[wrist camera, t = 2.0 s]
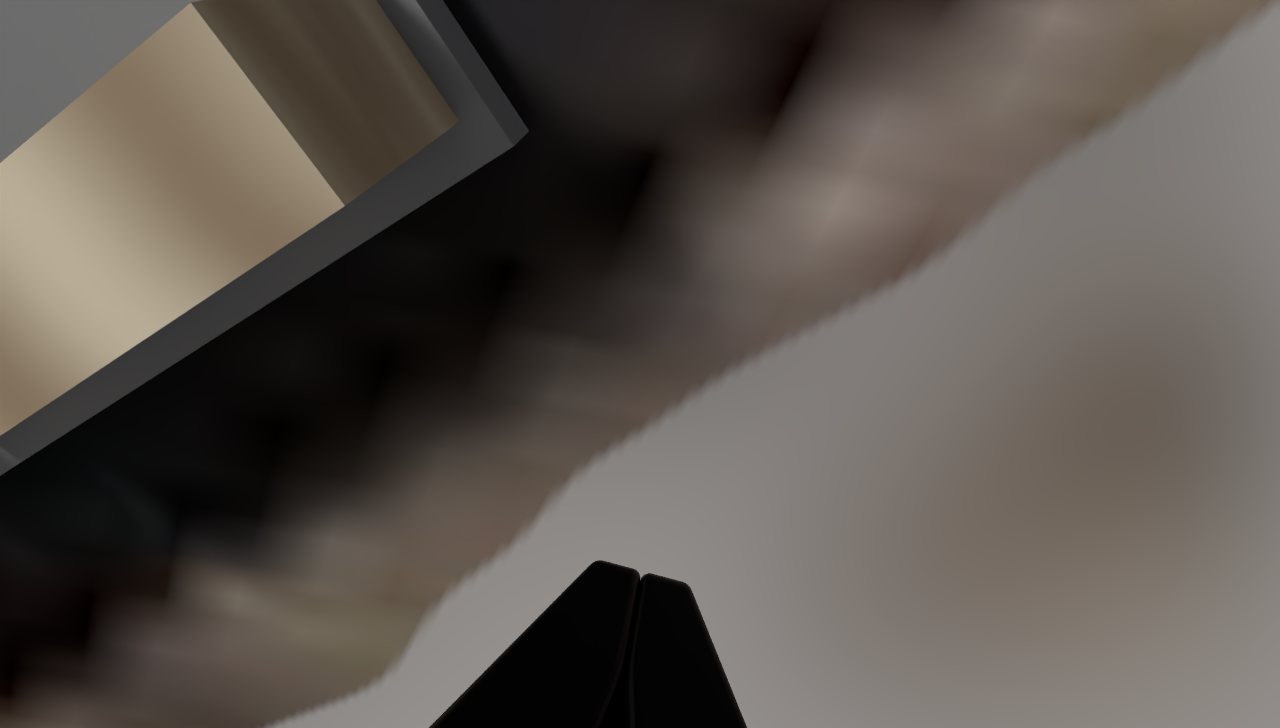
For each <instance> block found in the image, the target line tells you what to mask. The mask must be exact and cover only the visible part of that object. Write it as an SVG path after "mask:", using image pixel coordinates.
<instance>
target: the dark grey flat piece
mask: <svg viewBox="0 0 1280 728" xmlns="http://www.w3.org/2000/svg"><path fill="white" fill-rule="evenodd" d="M197 1H202V0H0V163H1V162H2V161H3V160H4V159H6V158H7V157H8V156H9V155H10V154H12V153H13V152H14V151H15V150H16V149H17V148H19V147H20V146H21V145H22V144H23V143H25V142H26V141H27V140H28V139H29V138H31V137H32V136H33V135H34V134H35V133H36V132H38V131H39V130H40V129H41V128H42V127H44V126H45V125H46V124H47V123H48V122H50V121H51V120H52V119H53V118H54V117H55V116H57V115H58V114H59V113H60V112H61V111H63V110H64V109H65V108H66V107H67V106H69V105H70V104H71V103H72V102H73V101H74V100H76V99H77V98H78V97H79V96H80V95H82V94H83V93H84V92H85V91H86V90H88V89H89V88H90V87H91V86H92V85H93V84H95V83H96V82H97V81H98V80H99V79H101V78H102V77H103V76H104V75H105V74H107V73H108V72H109V71H110V70H111V69H112V68H114V67H115V66H116V65H117V64H118V63H120V62H121V61H122V60H123V59H124V58H126V57H127V56H128V55H129V54H130V53H131V52H133V51H134V50H135V49H136V48H137V47H139V46H140V45H141V44H142V43H143V42H145V41H146V40H147V39H148V38H149V37H150V36H152V35H153V34H154V33H155V32H156V31H158V30H159V29H160V28H161V27H162V26H164V25H165V24H166V23H167V22H168V21H169V20H171V19H172V18H173V17H174V16H175V15H177V14H178V13H179V12H180V11H181V10H183V9H184V8H185V7H186V6H187V5H188V4H190V3H191V2H197ZM376 1H377V2H378V4H379V5H380V7H381V8H382V10H383V11H384V12H385V14H386V15H387V17H388V18H389V20H390V21H391V23H392V24H393V26H394V27H395V29H396V30H397V31H398V33H399V34H400V36H401V37H402V39H403V40H404V42H405V43H406V45H407V46H408V47H409V49H410V50H411V52H412V53H413V55H414V56H415V58H416V59H417V61H418V62H419V64H420V65H421V66H422V68H423V69H424V71H425V72H426V74H427V75H428V77H429V78H430V80H431V81H432V82H433V84H434V85H435V87H436V88H437V90H438V91H439V93H440V94H441V96H442V97H443V98H444V100H445V101H446V103H447V104H448V106H449V107H450V109H451V110H452V112H453V113H454V115H455V116H456V117H457V119H458V120H459V123H457V124H456V125H454V126H453V127H452V128H450V129H449V130H448V131H446V132H445V133H444V134H442V135H441V136H439V137H438V138H437V139H435V140H434V141H433V142H431V143H430V144H429V145H427V146H426V147H424V148H423V149H422V150H420V151H419V152H418V153H416V154H415V155H414V156H412V157H411V158H410V159H408V160H407V161H405V162H404V163H403V164H401V165H400V166H399V167H397V168H396V169H395V170H393V171H392V172H390V173H389V174H388V175H386V176H385V177H384V178H382V179H381V180H380V181H378V182H377V183H375V184H374V185H373V186H371V187H370V188H369V189H367V190H366V191H365V192H363V193H362V194H360V195H359V196H358V197H356V198H355V199H354V200H352V201H351V202H350V203H348V204H347V205H346V206H344V207H343V208H341V209H340V210H338V211H337V212H335V213H334V214H332V215H331V216H329V217H328V218H326V219H325V220H323V221H322V222H320V223H319V224H317V225H316V226H314V227H313V228H311V229H310V230H308V231H307V232H305V233H304V234H302V235H301V236H299V237H298V238H296V239H295V240H293V241H292V242H290V243H289V244H287V245H286V246H284V247H283V248H281V249H280V250H278V251H277V252H275V253H274V254H272V255H271V256H269V257H268V258H266V259H265V260H263V261H262V262H260V263H259V264H257V265H256V266H254V267H253V268H251V269H250V270H248V271H247V272H245V273H244V274H242V275H241V276H239V277H238V278H236V279H235V280H233V281H232V282H230V283H229V284H227V285H226V286H224V287H223V288H221V289H220V290H218V291H217V292H215V293H214V294H212V295H211V296H209V297H208V298H206V299H205V300H203V301H202V302H200V303H199V304H197V305H196V306H194V307H193V308H191V309H190V310H188V311H187V312H185V313H184V314H182V315H181V316H179V317H178V318H176V319H175V320H173V321H172V322H170V323H169V324H167V325H166V326H164V327H163V328H161V329H160V330H158V331H157V332H155V333H154V334H152V335H151V336H149V337H148V338H146V339H145V340H143V341H142V342H140V343H139V344H137V345H136V346H134V347H133V348H131V349H130V350H128V351H127V352H125V353H124V354H122V355H121V356H119V357H118V358H116V359H115V360H113V361H112V362H110V363H109V364H107V365H106V366H104V367H103V368H101V369H100V370H98V371H97V372H95V373H94V374H92V375H91V376H89V377H88V378H86V379H85V380H83V381H82V382H80V383H79V384H77V385H76V386H74V387H73V388H71V389H70V390H68V391H67V392H65V393H64V394H62V395H61V396H59V397H58V398H56V399H55V400H53V401H52V402H50V403H49V404H47V405H46V406H44V407H43V408H41V409H40V410H38V411H37V412H35V413H34V414H32V415H31V416H29V417H28V418H26V419H25V420H23V421H22V422H20V423H19V424H17V425H16V426H14V427H13V428H11V429H10V430H8V431H7V432H5V433H4V434H2V435H1V436H0V475H2V474H3V473H5V472H7V471H8V470H10V469H11V468H13V467H14V466H16V465H17V464H19V463H21V462H22V461H24V460H25V459H27V458H28V457H30V456H32V455H33V454H35V453H36V452H38V451H39V450H41V449H42V448H44V447H46V446H47V445H49V444H50V443H52V442H53V441H55V440H56V439H58V438H60V437H61V436H63V435H64V434H66V433H67V432H69V431H70V430H72V429H74V428H75V427H77V426H78V425H80V424H81V423H83V422H85V421H86V420H88V419H89V418H91V417H92V416H94V415H95V414H97V413H99V412H100V411H102V410H103V409H105V408H106V407H108V406H109V405H111V404H113V403H114V402H116V401H117V400H119V399H120V398H122V397H124V396H125V395H127V394H128V393H130V392H131V391H133V390H134V389H136V388H138V387H139V386H141V385H142V384H144V383H145V382H147V381H148V380H150V379H152V378H153V377H155V376H156V375H158V374H159V373H161V372H162V371H164V370H166V369H167V368H169V367H170V366H172V365H173V364H175V363H177V362H178V361H180V360H181V359H183V358H184V357H186V356H187V355H189V354H191V353H192V352H194V351H195V350H197V349H198V348H200V347H201V346H203V345H205V344H206V343H208V342H209V341H211V340H212V339H214V338H216V337H217V336H219V335H220V334H222V333H223V332H225V331H226V330H228V329H230V328H231V327H233V326H234V325H236V324H237V323H239V322H240V321H242V320H244V319H245V318H247V317H248V316H250V315H251V314H253V313H254V312H256V311H258V310H259V309H261V308H262V307H264V306H265V305H267V304H269V303H270V302H272V301H273V300H275V299H276V298H278V297H279V296H281V295H283V294H284V293H286V292H287V291H289V290H290V289H292V288H293V287H295V286H297V285H298V284H300V283H301V282H303V281H304V280H306V279H308V278H309V277H311V276H312V275H314V274H315V273H317V272H318V271H320V270H322V269H323V268H325V267H326V266H328V265H329V264H331V263H332V262H334V261H336V260H337V259H339V258H340V257H342V256H343V255H345V254H346V253H348V252H350V251H351V250H353V249H354V248H356V247H357V246H359V245H361V244H362V243H364V242H365V241H367V240H368V239H370V238H371V237H373V236H375V235H376V234H378V233H379V232H381V231H382V230H384V229H385V228H387V227H389V226H390V225H392V224H393V223H395V222H396V221H398V220H400V219H401V218H403V217H404V216H406V215H407V214H409V213H410V212H412V211H414V210H415V209H417V208H418V207H420V206H421V205H423V204H424V203H426V202H428V201H429V200H431V199H432V198H434V197H435V196H437V195H438V194H440V193H442V192H443V191H445V190H446V189H448V188H449V187H451V186H453V185H454V184H456V183H457V182H459V181H460V180H462V179H463V178H465V177H467V176H468V175H470V174H471V173H473V172H474V171H476V170H477V169H479V168H481V167H482V166H484V165H485V164H487V163H488V162H490V161H492V160H493V159H495V158H496V157H498V156H499V155H501V154H502V153H504V152H506V151H507V150H509V149H510V148H512V147H513V146H515V145H516V144H517V143H518V142H519V141H520V140H521V139H522V138H523V137H524V136H525V135H526V134H527V133H528V132H529V130H528V128H527V127H526V125H525V124H524V122H523V121H522V119H521V118H520V116H519V115H518V113H517V112H516V110H515V109H514V107H513V106H512V104H511V103H510V101H509V100H508V98H507V97H506V95H505V94H504V92H503V91H502V89H501V88H500V86H499V85H498V83H497V82H496V80H495V78H494V77H493V75H492V74H491V72H490V71H489V69H488V68H487V66H486V65H485V63H484V62H483V60H482V59H481V57H480V56H479V54H478V53H477V51H476V50H475V48H474V47H473V45H472V44H471V42H470V41H469V39H468V38H467V36H466V35H465V33H464V32H463V30H462V28H461V27H460V25H459V24H458V22H457V21H456V19H455V18H454V16H453V15H452V13H451V12H450V10H449V9H448V7H447V6H446V4H445V3H444V1H443V0H376Z"/></svg>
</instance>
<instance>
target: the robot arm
mask: <svg viewBox="0 0 1280 728" xmlns="http://www.w3.org/2000/svg"><path fill="white" fill-rule="evenodd" d="M429 728H747V727H746V724H745V722H744V719H743V717H742V714H741V712H740V709H739V707H738V704H737V702H736V699H735V697H734V694H733V692H732V689H731V687H730V684H729V682H728V679H727V677H726V674H725V672H724V669H723V667H722V664H721V662H720V660H719V657H718V655H717V652H716V650H715V647H714V645H713V642H712V640H711V637H710V635H709V632H708V630H707V628H706V625H705V622H704V620H703V617H702V615H701V612H700V610H699V607H698V605H697V603H696V600H695V598H694V595H693V593H692V590H691V588H690V587H689V586H688V585H687V584H686V583H684V582H681V581H677V580H673V579H670V578H666V577H662V576H658V575H654V574H650V573H648V574H645V575H644V576H643V577H642V578H641V580H640V575H639V573H638V572H637V570H635V569H632V568H628V567H624V566H621V565H617V564H613V563H610V562H606V561H595V562H593V563H592V564H591V565H590V566H589V567H588V568H587V569H586V570H585V571H584V572H583V573H582V574H581V575H580V576H579V577H578V578H577V579H576V580H575V581H574V582H573V583H572V584H571V585H570V586H569V587H568V588H567V589H566V590H565V591H564V592H563V593H562V594H561V595H560V596H559V597H558V598H557V599H556V600H555V601H554V602H553V603H552V604H551V605H550V606H549V607H548V608H547V609H546V610H545V611H544V612H543V613H542V614H541V615H540V616H539V617H538V618H537V619H536V620H535V621H534V622H533V623H532V624H531V625H530V626H529V627H528V628H527V629H526V630H525V631H524V632H523V633H522V634H521V635H520V636H519V637H518V638H517V639H516V640H515V641H514V642H513V643H512V645H510V646H509V647H508V649H506V650H505V651H504V652H503V653H502V654H501V656H499V657H498V658H497V659H496V661H495V662H494V663H493V664H492V665H491V666H490V667H489V668H488V669H487V670H486V671H485V672H484V673H483V674H482V675H481V676H480V677H479V678H478V679H477V680H476V681H475V682H474V683H473V684H472V685H471V686H470V687H469V688H468V689H467V690H466V691H465V692H464V693H463V694H462V695H461V696H460V697H459V698H458V699H457V700H456V701H455V702H454V703H453V704H452V705H451V706H450V707H449V708H448V709H447V710H446V711H445V712H444V713H443V714H442V715H441V716H440V717H439V718H438V719H437V720H436V721H435V722H434V723H433V724H432V725H431V726H430V727H429Z"/></svg>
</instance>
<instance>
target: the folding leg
mask: <svg viewBox="0 0 1280 728" xmlns="http://www.w3.org/2000/svg"><path fill="white" fill-rule="evenodd" d="M457 123H459V120H458V119H457V117H456V116H455V115H454V113H453V112H452V110H451V109H450V107H449V106H448V104H447V103H446V101H445V100H444V98H443V97H442V96H441V94H440V93H439V91H438V90H437V88H436V87H435V85H434V84H433V82H432V81H431V80H430V78H429V77H428V75H427V74H426V72H425V71H424V69H423V68H422V66H421V65H420V64H419V62H418V61H417V59H416V58H415V56H414V55H413V53H412V52H411V50H410V49H409V47H408V46H407V45H406V43H405V42H404V40H403V39H402V37H401V36H400V34H399V33H398V31H397V30H396V29H395V27H394V26H393V24H392V23H391V21H390V20H389V18H388V17H387V15H386V14H385V12H384V11H383V10H382V8H381V7H380V5H379V4H378V2H377V1H376V0H202V1H197V2H191V3H190V4H188V5H187V6H186V7H185V8H184V9H183V10H181V11H180V12H179V13H178V14H177V15H175V16H174V17H173V18H172V19H171V20H169V21H168V22H167V23H166V24H165V25H164V26H162V27H161V28H160V29H159V30H158V31H156V32H155V33H154V34H153V35H152V36H150V37H149V38H148V39H147V40H146V41H145V42H143V43H142V44H141V45H140V46H139V47H137V48H136V49H135V50H134V51H133V52H131V53H130V54H129V55H128V56H127V57H126V58H124V59H123V60H122V61H121V62H120V63H118V64H117V65H116V66H115V67H114V68H112V69H111V70H110V71H109V72H108V73H107V74H105V75H104V76H103V77H102V78H101V79H99V80H98V81H97V82H96V83H95V84H93V85H92V86H91V87H90V88H89V89H88V90H86V91H85V92H84V93H83V94H82V95H80V96H79V97H78V98H77V99H76V100H74V101H73V102H72V103H71V104H70V105H69V106H67V107H66V108H65V109H64V110H63V111H61V112H60V113H59V114H58V115H57V116H55V117H54V118H53V119H52V120H51V121H50V122H48V123H47V124H46V125H45V126H44V127H42V128H41V129H40V130H39V131H38V132H36V133H35V134H34V135H33V136H32V137H31V138H29V139H28V140H27V141H26V142H25V143H23V144H22V145H21V146H20V147H19V148H17V149H16V150H15V151H14V152H13V153H12V154H10V155H9V156H8V157H7V158H6V159H4V160H3V161H2V162H1V163H0V436H1V435H2V434H4V433H5V432H7V431H8V430H10V429H11V428H13V427H14V426H16V425H17V424H19V423H20V422H22V421H23V420H25V419H26V418H28V417H29V416H31V415H32V414H34V413H35V412H37V411H38V410H40V409H41V408H43V407H44V406H46V405H47V404H49V403H50V402H52V401H53V400H55V399H56V398H58V397H59V396H61V395H62V394H64V393H65V392H67V391H68V390H70V389H71V388H73V387H74V386H76V385H77V384H79V383H80V382H82V381H83V380H85V379H86V378H88V377H89V376H91V375H92V374H94V373H95V372H97V371H98V370H100V369H101V368H103V367H104V366H106V365H107V364H109V363H110V362H112V361H113V360H115V359H116V358H118V357H119V356H121V355H122V354H124V353H125V352H127V351H128V350H130V349H131V348H133V347H134V346H136V345H137V344H139V343H140V342H142V341H143V340H145V339H146V338H148V337H149V336H151V335H152V334H154V333H155V332H157V331H158V330H160V329H161V328H163V327H164V326H166V325H167V324H169V323H170V322H172V321H173V320H175V319H176V318H178V317H179V316H181V315H182V314H184V313H185V312H187V311H188V310H190V309H191V308H193V307H194V306H196V305H197V304H199V303H200V302H202V301H203V300H205V299H206V298H208V297H209V296H211V295H212V294H214V293H215V292H217V291H218V290H220V289H221V288H223V287H224V286H226V285H227V284H229V283H230V282H232V281H233V280H235V279H236V278H238V277H239V276H241V275H242V274H244V273H245V272H247V271H248V270H250V269H251V268H253V267H254V266H256V265H257V264H259V263H260V262H262V261H263V260H265V259H266V258H268V257H269V256H271V255H272V254H274V253H275V252H277V251H278V250H280V249H281V248H283V247H284V246H286V245H287V244H289V243H290V242H292V241H293V240H295V239H296V238H298V237H299V236H301V235H302V234H304V233H305V232H307V231H308V230H310V229H311V228H313V227H314V226H316V225H317V224H319V223H320V222H322V221H323V220H325V219H326V218H328V217H329V216H331V215H332V214H334V213H335V212H337V211H338V210H340V209H341V208H343V207H344V206H346V205H347V204H348V203H350V202H351V201H352V200H354V199H355V198H356V197H358V196H359V195H360V194H362V193H363V192H365V191H366V190H367V189H369V188H370V187H371V186H373V185H374V184H375V183H377V182H378V181H380V180H381V179H382V178H384V177H385V176H386V175H388V174H389V173H390V172H392V171H393V170H395V169H396V168H397V167H399V166H400V165H401V164H403V163H404V162H405V161H407V160H408V159H410V158H411V157H412V156H414V155H415V154H416V153H418V152H419V151H420V150H422V149H423V148H424V147H426V146H427V145H429V144H430V143H431V142H433V141H434V140H435V139H437V138H438V137H439V136H441V135H442V134H444V133H445V132H446V131H448V130H449V129H450V128H452V127H453V126H454V125H456V124H457Z"/></svg>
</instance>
